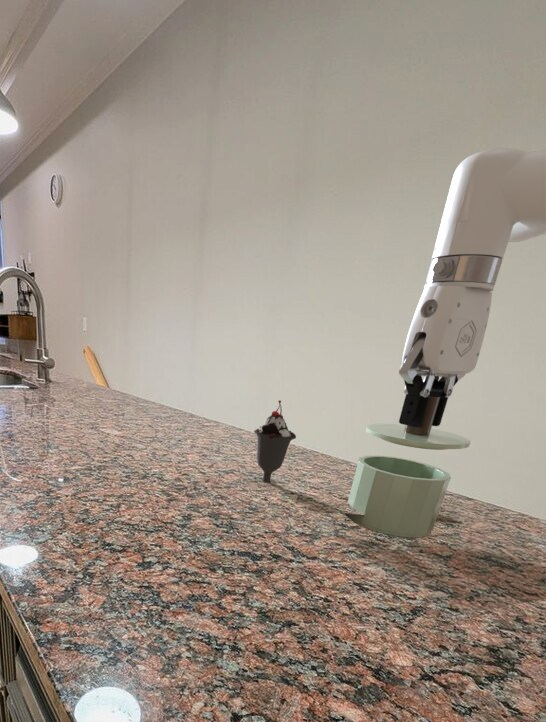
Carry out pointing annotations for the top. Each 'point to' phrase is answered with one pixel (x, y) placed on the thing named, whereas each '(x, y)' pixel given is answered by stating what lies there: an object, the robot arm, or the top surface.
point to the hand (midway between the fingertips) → (419, 423)
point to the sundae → (272, 443)
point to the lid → (420, 433)
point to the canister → (397, 495)
